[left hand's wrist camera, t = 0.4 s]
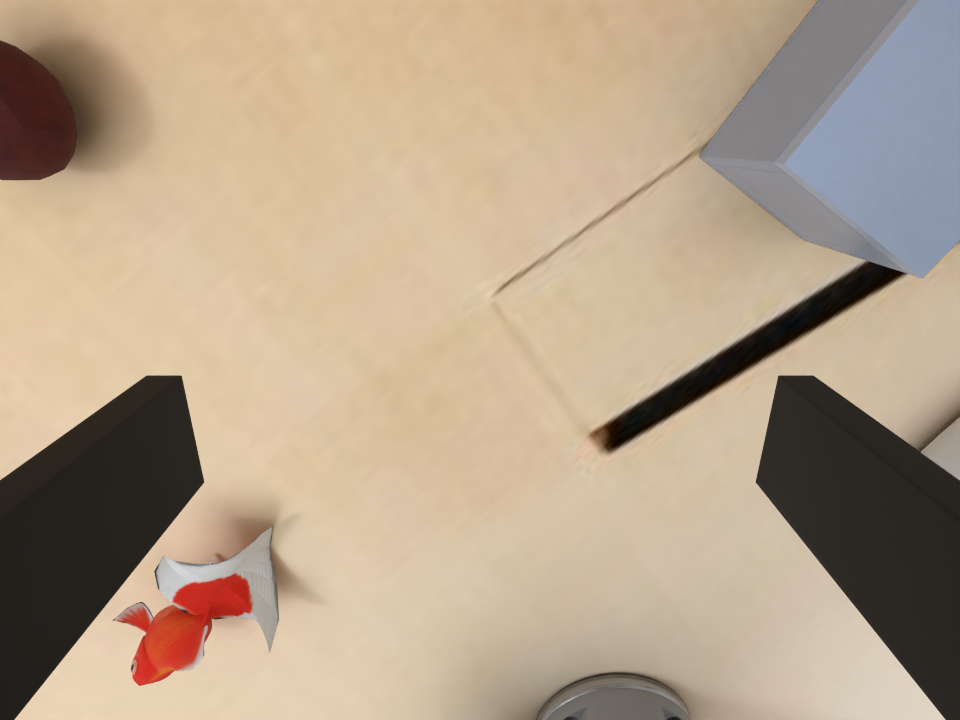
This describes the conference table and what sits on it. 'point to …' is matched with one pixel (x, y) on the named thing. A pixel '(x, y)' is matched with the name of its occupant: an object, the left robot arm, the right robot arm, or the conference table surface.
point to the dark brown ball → (32, 119)
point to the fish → (202, 608)
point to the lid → (893, 139)
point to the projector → (946, 449)
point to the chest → (799, 119)
